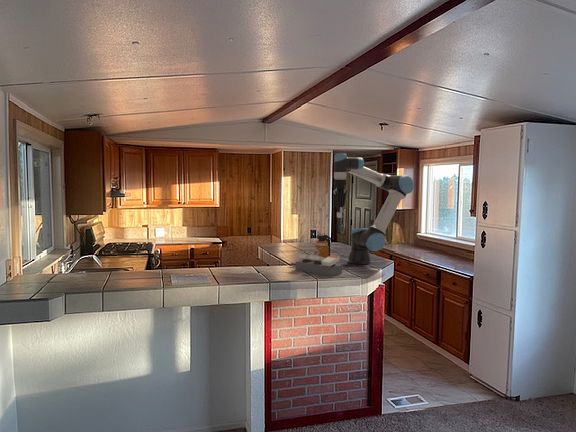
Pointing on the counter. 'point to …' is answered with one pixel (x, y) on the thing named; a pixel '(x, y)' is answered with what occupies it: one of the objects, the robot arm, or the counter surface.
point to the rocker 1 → (304, 256)
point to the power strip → (317, 267)
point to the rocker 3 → (330, 260)
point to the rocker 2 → (317, 258)
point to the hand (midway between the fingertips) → (339, 217)
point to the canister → (322, 246)
